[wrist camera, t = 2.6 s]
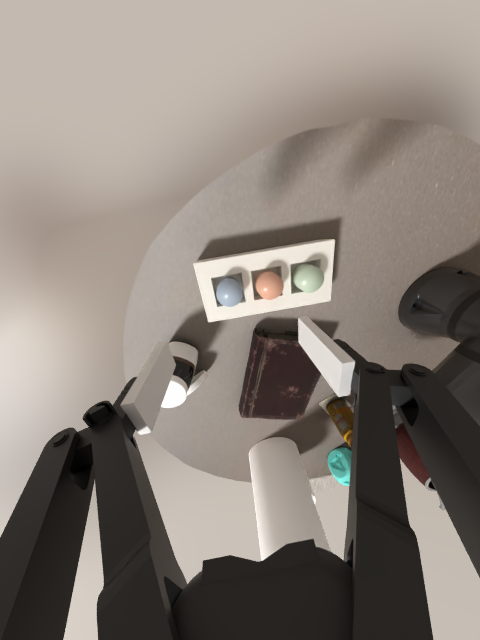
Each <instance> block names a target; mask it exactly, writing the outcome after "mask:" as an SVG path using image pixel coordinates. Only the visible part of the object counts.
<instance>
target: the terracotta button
mask: <svg viewBox="0 0 480 640" xmlns="http://www.w3.org/2000/svg"><path fill="white" fill-rule="evenodd" d="M254 285H255V288H256V290H257V291H258V293H259V294H260V296H261V297H262V298H264V299H266V300H272V299H275V298H277V297H278V296H280V294H281V293H282V291H283V288H284V284H283V280H282V279H281V277H279V276H278V275H277V274H275V273H274V272H272V271H268V270H266V271H262V272H260V273H259V274H258V275H257V276H256V278H255V282H254Z"/></svg>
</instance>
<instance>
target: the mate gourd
mask: <svg viewBox="0 0 480 640" xmlns="http://www.w3.org/2000/svg"><path fill="white" fill-rule="evenodd" d="M392 406H393V413H394V421H395V427H397V428H396V435H397V442H398V450H399V457H400V459H401V460H402V462H403V463H404V464H405V465H406V467H407V468H408V469H409V470H410V472H411V473H412V474H413V475H414V476H415V477H416V478H417V479H418V480H419V481H420V482H421V483H422V484H423V485H424V486H425V487H426V488H427V489H428V490H430V491H437V490H436V488H435V486H434V484H433V482H432V480H431V478H430V476H429V474H428V472H427V470H426V468H425V466H424V464H423V462H422V460H421V458H420V456H419V454H418V452H417V450H416V448H415V446H414V444H413V442H412V440H411V438H410V436H409V434H408V432H407V430H406V428H405V425H404V423H403V421H402V419H401V417H400V415H399V413H398V411H397V409H396V407H395V405H392ZM437 493H438V492H437ZM438 496H439V494H438ZM439 499H440V508H441V509H442V510H444V509H445V506H444V504H443V502H442V500H441V498H440V496H439Z"/></svg>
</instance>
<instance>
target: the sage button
mask: <svg viewBox="0 0 480 640" xmlns="http://www.w3.org/2000/svg"><path fill="white" fill-rule="evenodd" d="M292 282H293V284H294V285H295V286H296V287H298V288H299V289H301V290H302V291H304V292H306V293H312V292H315V291H317V290H318V289H319V288H320V287H321V286H322V284H323V282H324V273H323V271H322V270H321V269H320V268H318V267H315V266H312V265H309V264H301V265H299V266H298V267H296V268H295V270H294V271H293V273H292Z"/></svg>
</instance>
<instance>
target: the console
mask: <svg viewBox="0 0 480 640" xmlns="http://www.w3.org/2000/svg"><path fill="white" fill-rule="evenodd" d="M334 246H335V239H320V240H314V241H308V242H302V243H296V244H290V245H285V246H279V247H273V248H267V249H261V250H256V251H250V252H244V253H238V254H232V255H226V256H221V257H215V258H209V259H203V260H197V261H196V262H195V263H194V268H195V272H196V276H197V280H198V284H199V288H200V292H201V296H202V299H203V303H204V307H205V311H206V315H207V319H208V322H214V321H220V320H225V319H231V318H237V317H242V316H248V315H254V314H259V313H265V312H271V311H276V310H282V309H288V308H293V307H299V306H305V305H310V304H316V303H322V302H327V301H331V287H332V273H333V259H334ZM301 264H309V265H312V266H315V267H318V268H320V269H321V270H322V271H323V273H324V282H323V284H322V286H321V287H320V288H319V289H318V290H317V291H315V292H312V293H306V292H304V291H302V290H301V289H299V288H298V287H296V286H295V285H294V284H293V282H292V273H293V271H294V270H295V268H296V267H298V266H299V265H301ZM266 270H268V271H272V272H274V273H275V274H277V275H278V276H279V277H281V279H282V280H283V284H284V288H283V291H282V293H281V294H280V296H278V297H277V298H275V299H272V300H266V299H264V298H262V297H261V296H260V294H259V293H258V291H257V290H256V288H255V285H254V282H255V278H256V276H257V275H258V274H259V273H260V272H262V271H266ZM226 277H232V278H235V279H236V280H237V281H238V282H239V283H240V286H241V288H242V291H243V297H242V300H241V301H240V302H239V303H238V304H237V305H235V306H232V307H227V306H224V305H222V304H221V303H220V302H219V301H218V299H217V296H216V292H217V285H218V283H219V282H220V280H222V279H223V278H226Z"/></svg>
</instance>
